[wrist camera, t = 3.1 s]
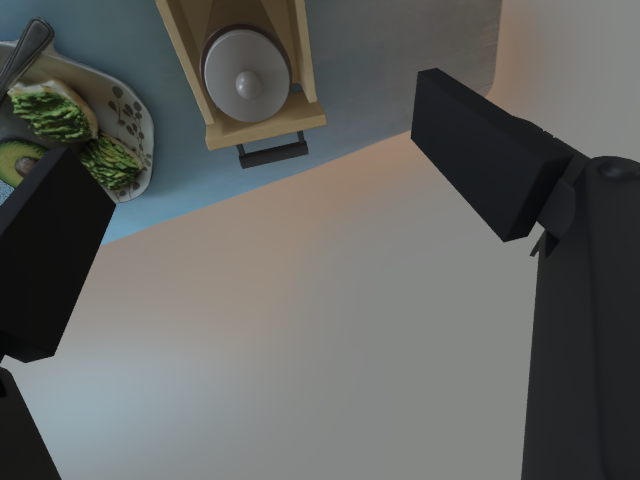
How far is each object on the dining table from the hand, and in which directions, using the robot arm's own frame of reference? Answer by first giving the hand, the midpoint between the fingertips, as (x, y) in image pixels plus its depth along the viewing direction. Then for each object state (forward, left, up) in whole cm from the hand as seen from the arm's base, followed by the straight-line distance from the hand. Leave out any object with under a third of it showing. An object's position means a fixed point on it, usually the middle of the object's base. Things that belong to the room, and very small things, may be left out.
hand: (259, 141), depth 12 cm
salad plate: (-22, -7, -26) cm, 35 cm away
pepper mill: (0, 0, -24) cm, 24 cm away
